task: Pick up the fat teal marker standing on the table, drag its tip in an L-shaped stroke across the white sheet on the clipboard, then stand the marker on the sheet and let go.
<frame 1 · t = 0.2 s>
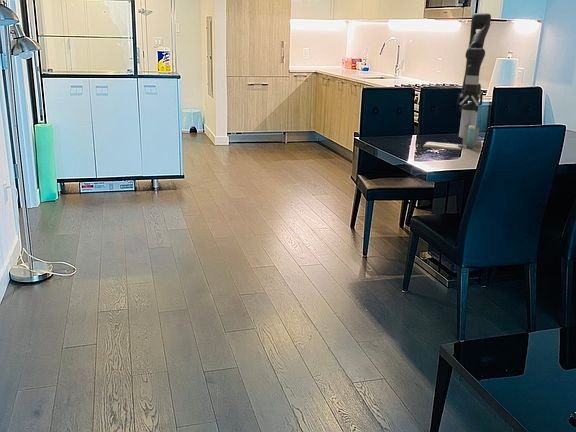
hand: (468, 111, 332), 17 cm above the table, tool pointing down, fingers open, 8 cm apart
clipboard: (443, 146, 316), on the table
cup: (469, 144, 328), on the table
marker: (469, 148, 314), on the table
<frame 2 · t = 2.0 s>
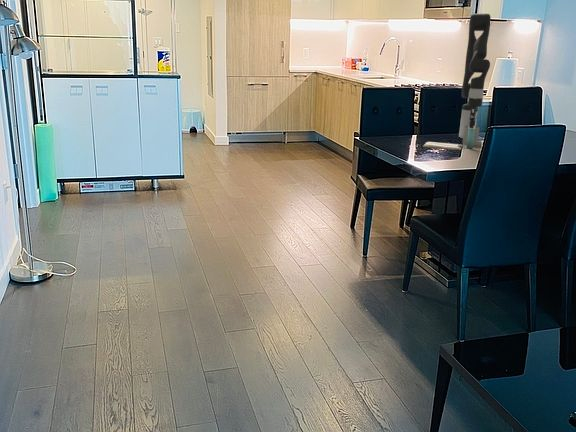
hand: (471, 127, 311), 12 cm above the table, tool pointing down, fingers open, 8 cm apart
nothing on the table moved.
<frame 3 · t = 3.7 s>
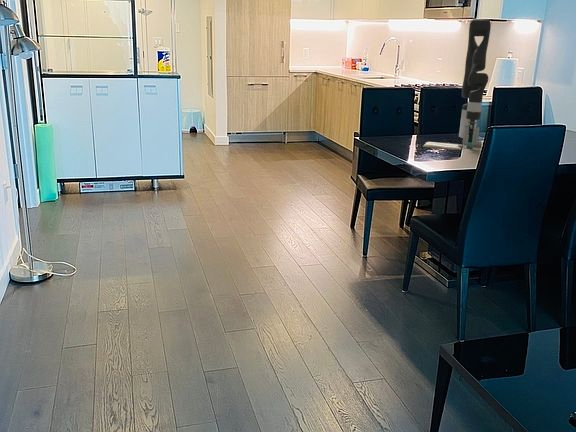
hand: (470, 141, 313), 4 cm above the table, tool pointing down, fingers closed on marker, 3 cm apart
marker: (469, 148, 314), on the table, touching gripper
everything else where it was.
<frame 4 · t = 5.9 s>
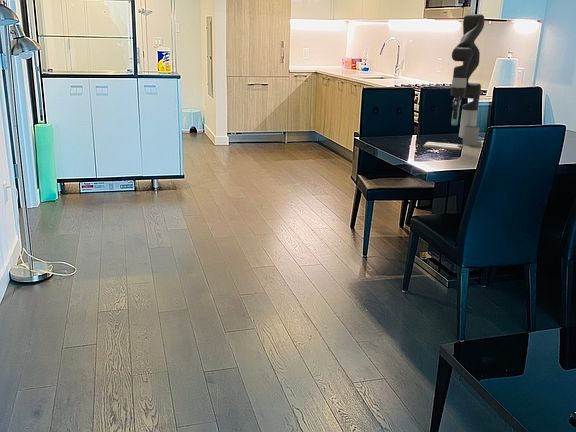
hand: (455, 118, 307), 16 cm above the table, tool pointing down, fingers closed on marker, 3 cm apart
marker: (454, 125, 308), point 13 cm above the table, touching gripper
everything else where it was.
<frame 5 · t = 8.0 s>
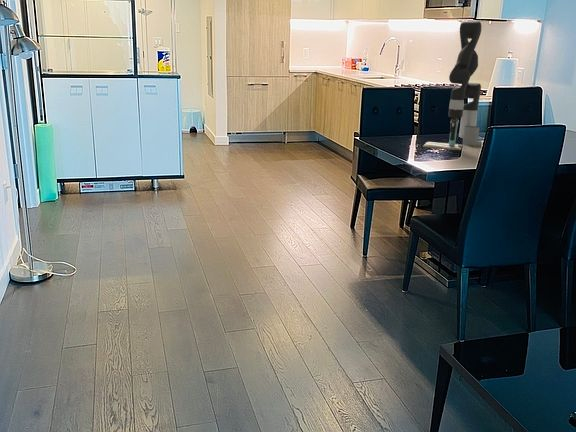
hand: (452, 139, 311), 5 cm above the table, tool pointing down, fingers closed on marker, 3 cm apart
marker: (451, 146, 312), point 1 cm above the table, touching gripper
everything else where it was.
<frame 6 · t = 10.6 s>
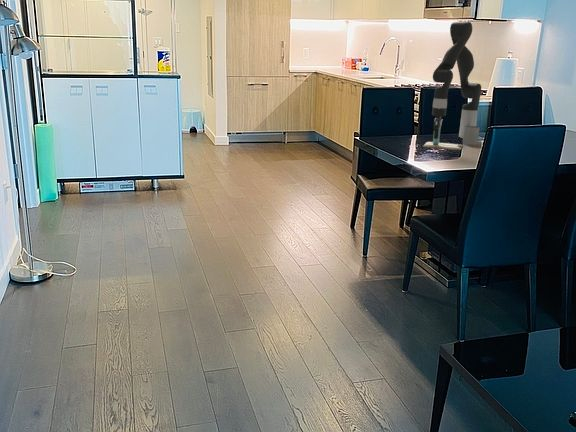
hand: (436, 138, 314), 5 cm above the table, tool pointing down, fingers closed on marker, 3 cm apart
marker: (435, 144, 315), point 1 cm above the table, touching clipboard, gripper
everything else where it was.
when the fingers open (5 cm above the table, at t = 12.5 s): marker stays where it is, resting on clipboard.
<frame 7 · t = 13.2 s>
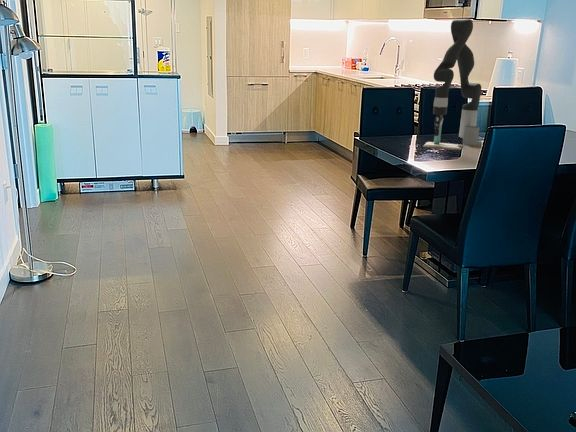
hand: (437, 134, 318), 6 cm above the table, tool pointing down, fingers open, 8 cm apart
marker: (436, 143, 319), point 1 cm above the table, touching clipboard
everything else where it was.
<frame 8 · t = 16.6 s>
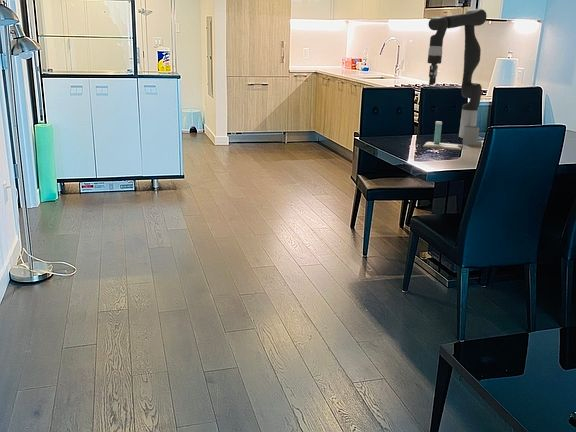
hand: (432, 84, 320), 33 cm above the table, tool pointing down, fingers open, 8 cm apart
nothing on the table moved.
at the end: marker inside the target area (4.4 cm from its centre), point 1.1 cm above the table; marker tilted 0°; the gripper is holding nothing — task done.
